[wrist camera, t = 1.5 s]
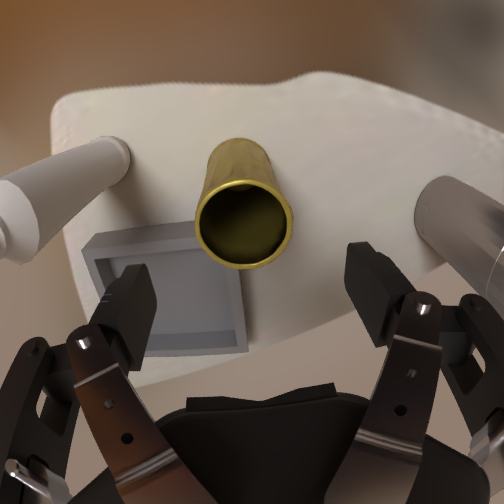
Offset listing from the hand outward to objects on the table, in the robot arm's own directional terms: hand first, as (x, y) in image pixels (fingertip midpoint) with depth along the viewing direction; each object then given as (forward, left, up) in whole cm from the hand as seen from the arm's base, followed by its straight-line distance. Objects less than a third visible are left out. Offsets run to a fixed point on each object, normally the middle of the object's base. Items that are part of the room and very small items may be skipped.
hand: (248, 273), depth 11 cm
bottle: (+13, -3, -19) cm, 23 cm away
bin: (+9, +13, -19) cm, 24 cm away
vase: (0, 0, -19) cm, 19 cm away
